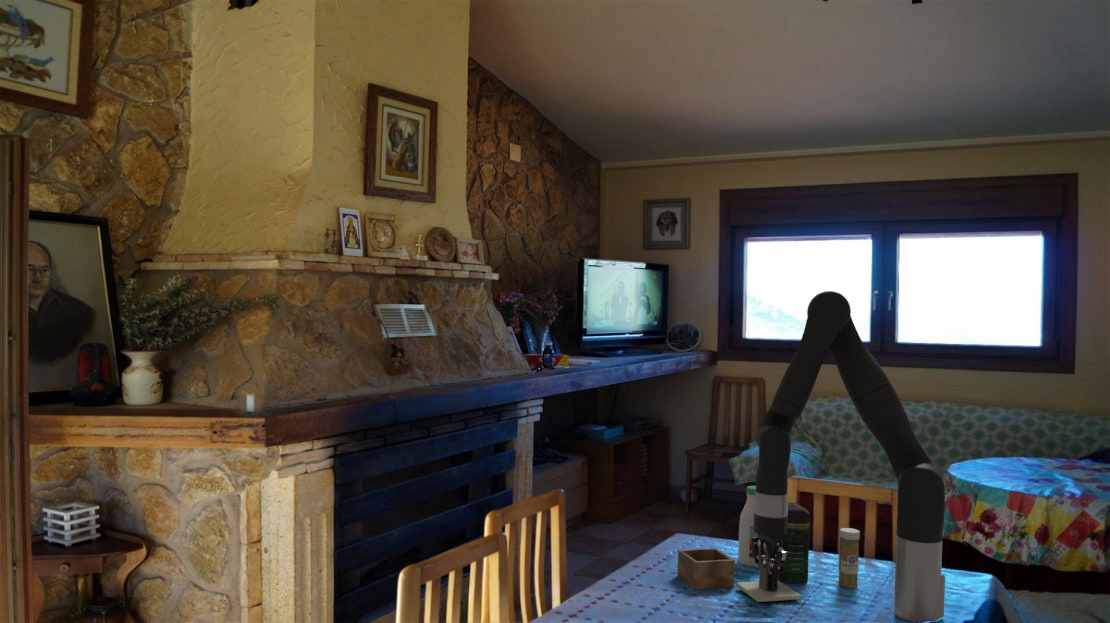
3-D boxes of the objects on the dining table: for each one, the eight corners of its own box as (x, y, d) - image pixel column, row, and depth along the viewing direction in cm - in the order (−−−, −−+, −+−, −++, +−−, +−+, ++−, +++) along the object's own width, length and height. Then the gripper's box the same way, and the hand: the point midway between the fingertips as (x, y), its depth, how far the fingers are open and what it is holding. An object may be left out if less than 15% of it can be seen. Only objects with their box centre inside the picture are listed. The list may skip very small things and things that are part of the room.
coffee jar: (811, 587, 205) (814, 509, 205) (777, 586, 205) (780, 508, 205) (801, 574, 214) (804, 500, 214) (769, 573, 215) (772, 499, 215)
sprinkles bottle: (845, 589, 204) (847, 532, 204) (834, 583, 209) (835, 527, 208) (862, 587, 206) (863, 531, 205) (850, 581, 210) (851, 526, 210)
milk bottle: (736, 567, 219) (739, 488, 219) (739, 558, 226) (741, 482, 226) (768, 570, 217) (770, 491, 217) (769, 562, 224) (772, 485, 224)
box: (715, 576, 211) (716, 548, 211) (733, 590, 202) (734, 560, 202) (677, 578, 209) (678, 550, 209) (694, 592, 199) (695, 562, 199)
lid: (777, 583, 203) (778, 558, 202) (801, 598, 192) (802, 573, 192) (736, 586, 200) (736, 561, 200) (758, 601, 190) (759, 575, 190)
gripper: (801, 519, 190) (799, 597, 190) (770, 504, 204) (768, 577, 204) (771, 520, 188) (768, 599, 188) (741, 505, 202) (739, 578, 202)
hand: (768, 587), depth 196 cm, fingers closed on lid, 3 cm apart
